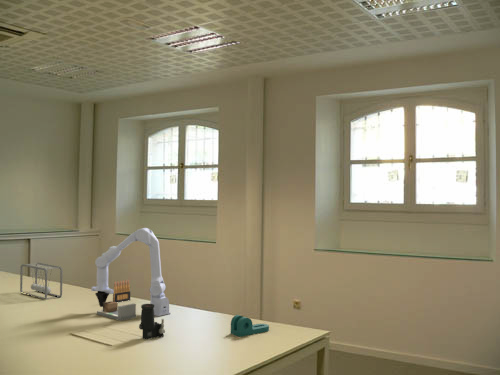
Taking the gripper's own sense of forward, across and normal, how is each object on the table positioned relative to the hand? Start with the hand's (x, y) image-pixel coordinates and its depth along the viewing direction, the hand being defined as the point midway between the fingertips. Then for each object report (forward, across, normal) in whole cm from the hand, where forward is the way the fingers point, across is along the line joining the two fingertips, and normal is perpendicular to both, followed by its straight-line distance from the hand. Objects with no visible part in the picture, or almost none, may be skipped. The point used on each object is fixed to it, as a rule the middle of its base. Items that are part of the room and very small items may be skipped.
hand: (102, 306), depth 270 cm
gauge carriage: (+1, -7, +2) cm, 7 cm away
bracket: (+3, -83, -13) cm, 84 cm away
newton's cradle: (+3, +62, -8) cm, 63 cm away
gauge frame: (+3, -12, +1) cm, 12 cm away
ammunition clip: (+3, +12, -24) cm, 28 cm away
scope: (+3, -53, +20) cm, 57 cm away
